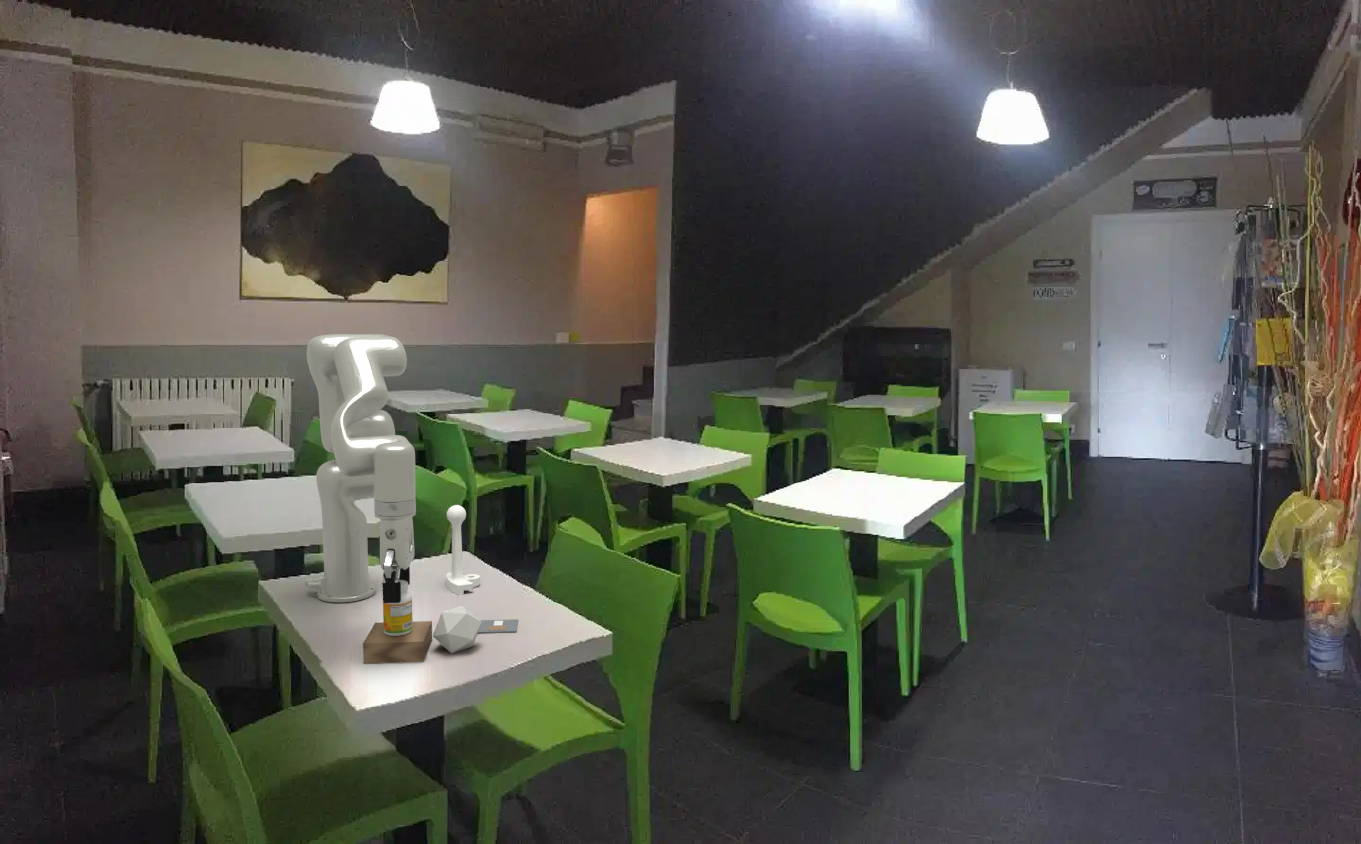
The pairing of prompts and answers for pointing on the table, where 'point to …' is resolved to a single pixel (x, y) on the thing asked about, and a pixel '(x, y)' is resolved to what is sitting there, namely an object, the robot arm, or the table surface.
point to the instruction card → (498, 626)
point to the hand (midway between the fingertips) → (396, 593)
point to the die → (457, 629)
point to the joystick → (458, 555)
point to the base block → (397, 644)
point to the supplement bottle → (399, 614)
